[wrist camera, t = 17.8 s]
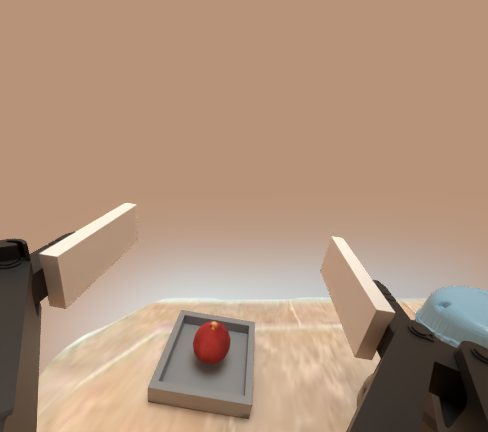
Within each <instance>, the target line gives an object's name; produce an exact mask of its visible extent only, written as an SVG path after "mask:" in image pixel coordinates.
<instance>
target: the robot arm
mask: <svg viewBox="0 0 488 432" xmlns="http://www.w3.org/2000/svg"><path fill="white" fill-rule="evenodd" d="M137 241H138V231H137V205H136V204H130V203H124V204H123V205H121V206H119V207H118V208H116V209H114V210H112V211H111V212H109V213H107V214H106V215H104V216H102V217H101V218H99V219H97V220H95V221H94V222H92V223H90V224H89V225H87V226H85V227H84V228H82V229H80V230H78V231H77V232H72V233H68V234H65V235H63V236H61V237H59V238H58V239H56V240H55V241H52V242H51V243H49V244H48V245H46V246H44V247H42V248H40V249H38V250H37V251H35V252H33V253H31V254H29V250H28V246H27V243H26V241H24V240H21V239H6V240H0V432H36V428H37V403H38V379H39V354H40V329H41V304H40V301H41V300H43V299H44V298H45V297H46V296H48V300H49V304H50V306H53V307H59V308H64V309H67V308H68V307H69V306H70V305H71V304H72V303H73V302H74V301H75V300H76V299H77V298H78V297H79V296H80V295H81V294H82V293H83V292H84V291H85V290H86V289H88V287H90V286H91V285H92V284H93V283H94V282H95V281H96V280H97V279H98V278H99V277H100V276H101V275H102V274H103V273H104V272H105V271H107V270H108V269H109V268H110V267H111V266H112V265H113V264H114V263H115V262H116V261H117V260H118V259H119V258H120V257H121V256H122V255H123V254H124V253H125V252H126V251H127V250H129V249H130V248H131V247H132V246H133V245H134V244H135V243H136V242H137ZM320 271H321V274H322V276H323V279H324V281H325V284H326V286H327V289H328V291H329V294H330V296H331V299H332V301H333V304H334V306H335V309H336V311H337V314H338V316H339V319H340V322H341V324H342V327H343V329H344V332H345V334H346V337H347V339H348V342H349V344H350V347H351V349H352V352H353V354H354V357H356V358H362V359H368V360H372V359H373V357H374V355H375V353H376V351H377V352H378V354H379V356H380V358H381V360H380V362H379V364H378V366H377V368H376V370H375V371H374V373H373V374H371V375H370V376H369V377H368V378H367V379H366V380H365V382H364V384H363V386H362V388H361V390H360V392H359V395H358V400H357V410H356V412H355V414H354V416H353V418H352V421H351V423H350V425H349V427H348V429H347V431H346V432H488V291H487V290H483V289H478V288H470V287H464V286H448V287H442V288H440V289H437V290H435V291H434V292H433V293H432V294H431V295H430V296H429V297H428V299H427V300H426V302H425V303H424V305H423V306H422V308H420V309H419V310H418V311H417V313H416V317H415V320H410V318H409V317H408V316H407V314H406V313H405V312H404V310H403V309H402V308H401V306H400V305H399V304H398V302H396V300H395V298H394V297H393V296H391V293H390V292H389V291H388V289H387V288H386V287H385V286H384V285H382V284H381V283H380V282H379V281H376V280H372V279H371V277H369V275H368V274H367V272H366V270H365V269H364V268H363V266H362V265H361V263H360V262H359V260H358V259H357V258H356V256H355V255H354V253H353V252H352V251H351V249H350V248H349V246H348V245H347V243H346V242H345V241H344V239H343V238H339V237H333V236H332V237H331V239H330V242H329V245H328V248H327V252H326V255H325V258H324V261H323V264H322V268H321V270H320Z"/></svg>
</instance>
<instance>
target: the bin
mask: <svg viewBox="0 0 488 432" xmlns="http://www.w3.org/2000/svg"><path fill="white" fill-rule="evenodd" d="M210 321H217V322H220V323H222V324H223V325H224V326H225V327H226V328H227V329H228V332H229V335H230V338H231V343H230V349H229V351H228V353H227V355H226V357H225V358H224V359H222V360H221V361H220V362H218V363H214V364H207V363H204V362H202V361H200V360H199V359H198V357H197V356H196V355H195V354H194V349H193V340H194V337H195V334H196V332H197V330H198V329H199V328H200V326H202V325H203V324H205V323H206V322H210ZM254 331H255V322H249V321H243V320H238V319H232V318H226V317H220V316H214V315H208V314H202V313H196V312H190V311H184V310H181V312H180V314H179V316H178V319H177V321H176V323H175V326H174V328H173V330H172V333H171V335H170V337H169V340H168V342H167V344H166V347H165V349H164V351H163V354H162V356H161V358H160V361H159V363H158V365H157V368H156V370H155V372H154V375H153V377H152V379H151V382H150V384H149V386H148V402H153V403H159V404H165V405H171V406H177V407H183V408H188V409H194V410H200V411H206V412H212V413H218V414H223V415H229V416H235V417H241V418H247V419H249V415H250V411H251V407H252V390H253V361H254Z"/></svg>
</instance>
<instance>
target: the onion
mask: <svg viewBox="0 0 488 432" xmlns="http://www.w3.org/2000/svg"><path fill="white" fill-rule="evenodd" d="M230 343H231V338H230V335H229V332H228V329H227V328H226V327H225V326H224V325H223V324H222V323H220V322H217V321H210V322H206V323H205V324H203V325H202V326H200V328H199V329H198V330H197V332H196V334H195V337H194V340H193V349H194V354H195V355H196V356H197V357H198V359H199V360H200V361H202V362H204V363H207V364H214V363H218V362H220V361H221V360H222V359H224V358H225V357H226V355H227V353H228V351H229V349H230Z"/></svg>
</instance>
